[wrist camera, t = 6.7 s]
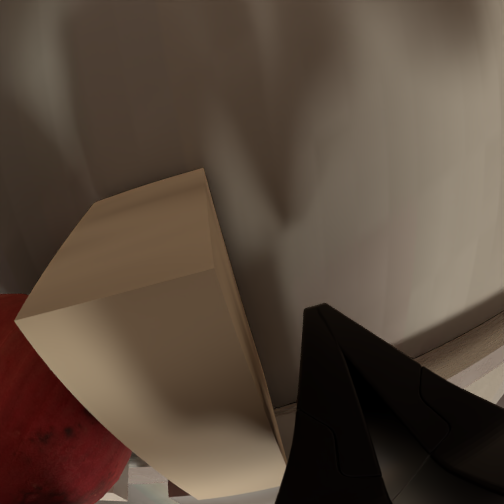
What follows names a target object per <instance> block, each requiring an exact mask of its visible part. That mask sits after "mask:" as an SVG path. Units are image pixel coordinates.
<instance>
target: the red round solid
mask: <svg viewBox="0 0 504 504" xmlns="http://www.w3.org/2000/svg"><path fill="white" fill-rule="evenodd" d="M28 296H29V295H26V294H0V504H94V503H96V502H97V501H98V500H100V499H101V498H102V497H103V496H104V495H105V494H106V493H107V492H108V491H109V490H110V489H111V488H112V486H113V485H114V484H115V483H116V482H117V481H118V480H119V478H120V476H121V474H122V472H123V470H124V468H125V466H126V465H127V463H128V461H129V459H130V457H131V454H132V451H131V450H130V449H129V448H128V447H127V446H125V445H124V444H123V443H122V442H121V441H120V440H119V439H117V438H116V437H115V436H114V435H113V434H112V433H111V432H110V431H109V430H108V429H106V428H105V427H104V426H103V425H102V424H101V423H100V422H99V421H98V420H97V419H96V418H95V417H94V416H93V415H92V414H91V413H90V412H89V411H88V410H87V409H86V408H85V407H84V406H83V405H82V404H81V403H80V402H79V401H78V400H77V399H76V397H75V396H74V395H73V394H72V393H71V392H70V391H69V390H68V389H67V388H66V387H65V385H64V384H63V383H62V382H61V381H60V380H59V379H58V377H57V376H56V375H55V374H54V373H53V371H52V370H51V369H50V368H49V367H48V365H47V364H46V363H45V362H44V361H43V359H42V358H41V357H40V355H39V354H38V353H37V352H36V350H35V349H34V348H33V346H32V345H31V344H30V342H29V341H28V340H27V338H26V337H25V336H24V334H23V333H22V331H21V330H20V329H19V327H18V326H17V324H16V323H15V321H14V320H15V318H16V317H17V315H18V313H19V311H20V310H21V308H22V306H23V304H24V303H25V301H26V299H27V298H28Z"/></svg>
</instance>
